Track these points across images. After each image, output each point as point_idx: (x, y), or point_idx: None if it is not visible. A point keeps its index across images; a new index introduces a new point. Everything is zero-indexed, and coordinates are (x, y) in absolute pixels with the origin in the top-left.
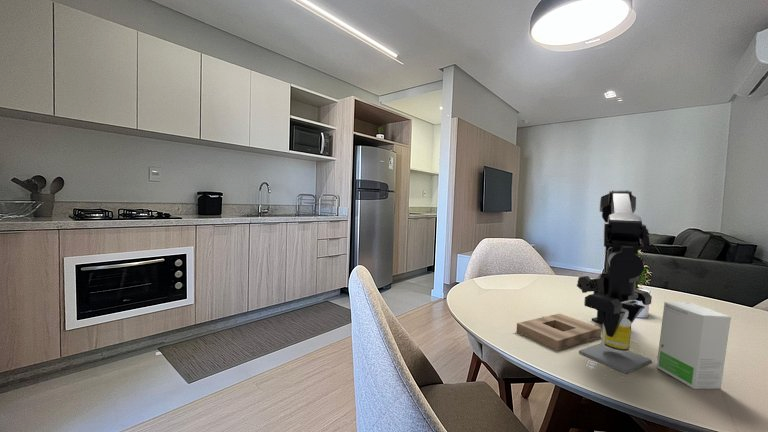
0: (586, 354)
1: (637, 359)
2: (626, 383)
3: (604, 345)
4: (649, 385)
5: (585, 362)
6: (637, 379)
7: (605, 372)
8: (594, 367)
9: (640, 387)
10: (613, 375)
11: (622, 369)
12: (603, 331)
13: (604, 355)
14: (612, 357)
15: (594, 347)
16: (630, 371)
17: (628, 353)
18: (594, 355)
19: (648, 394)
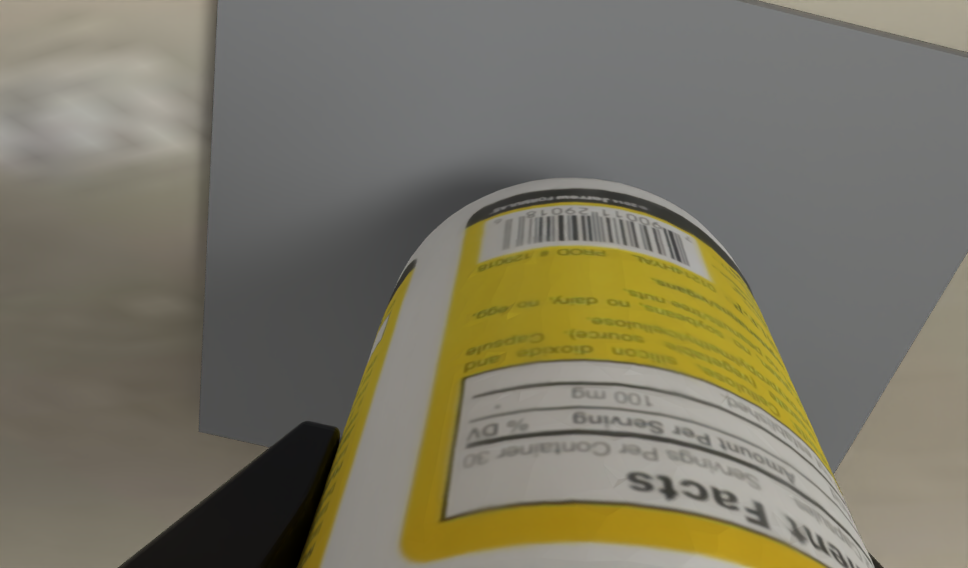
0: (223, 3)
1: None
2: (6, 435)
3: (414, 253)
4: None
5: (18, 51)
6: (191, 484)
7: (17, 276)
8: (4, 168)
9: (60, 509)
10: (38, 340)
11: (204, 400)
12: (428, 353)
13: (406, 202)
14: None
15: (606, 23)
16: None
17: None
18: (268, 108)
19: (6, 551)
